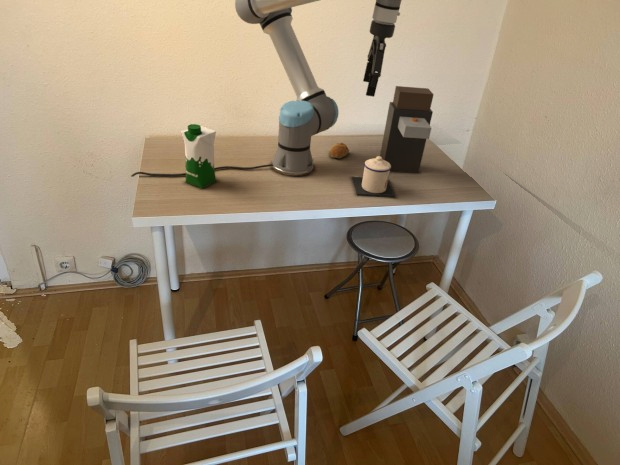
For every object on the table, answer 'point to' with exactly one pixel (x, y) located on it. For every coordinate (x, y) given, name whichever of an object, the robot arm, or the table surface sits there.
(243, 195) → the table surface
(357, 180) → the rubber mat
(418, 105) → the coffee maker
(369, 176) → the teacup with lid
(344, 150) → the pastry
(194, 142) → the milk carton
